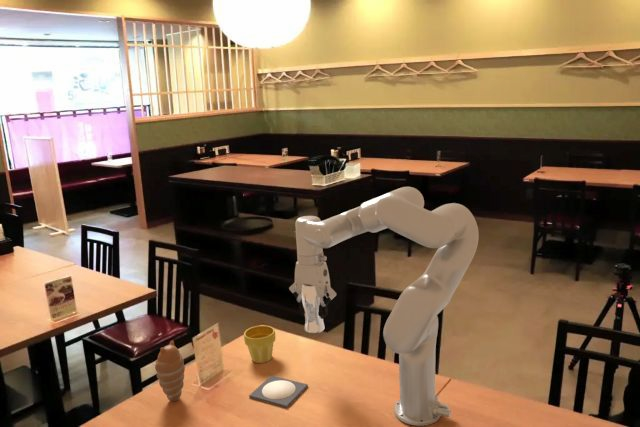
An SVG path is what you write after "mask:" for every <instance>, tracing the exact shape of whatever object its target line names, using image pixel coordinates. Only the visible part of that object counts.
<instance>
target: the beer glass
mask: <svg viewBox="0 0 640 427" xmlns="http://www.w3.org/2000/svg"><path fill="white" fill-rule="evenodd" d="M301 299H302V305H303V309H304V318H305V319H304V320H305V321H304V322H305V323H304V331H305V332H306V333H309V334H319V333H323V331H324V330H325V323H324V318H323V319H321V318H320V306H321V303H320V297H318V296H317V293H316V289H315V286H306V285H303V284H302V289H301ZM323 299H324V297H323Z"/></svg>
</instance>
